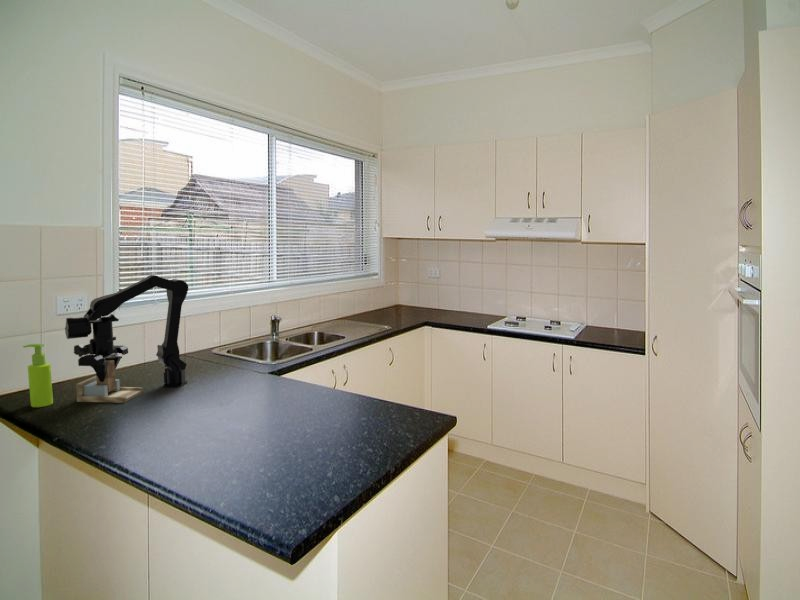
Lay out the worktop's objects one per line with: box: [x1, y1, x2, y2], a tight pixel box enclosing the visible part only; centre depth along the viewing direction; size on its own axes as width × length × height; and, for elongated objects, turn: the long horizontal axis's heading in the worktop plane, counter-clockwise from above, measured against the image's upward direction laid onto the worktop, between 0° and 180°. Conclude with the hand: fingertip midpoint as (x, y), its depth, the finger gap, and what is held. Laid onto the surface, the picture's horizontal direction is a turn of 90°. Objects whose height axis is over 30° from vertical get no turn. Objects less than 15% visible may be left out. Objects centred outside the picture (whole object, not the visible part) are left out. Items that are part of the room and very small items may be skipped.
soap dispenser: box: [22, 343, 54, 408], centre depth 156 cm, size 6×7×20 cm
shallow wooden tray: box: [75, 375, 144, 404], centre depth 165 cm, size 16×11×6 cm
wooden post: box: [95, 360, 116, 392], centre depth 165 cm, size 4×4×10 cm
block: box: [84, 378, 121, 396], centre depth 165 cm, size 7×9×4 cm
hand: (105, 379), depth 165 cm, fingers closed on wooden post, 4 cm apart
